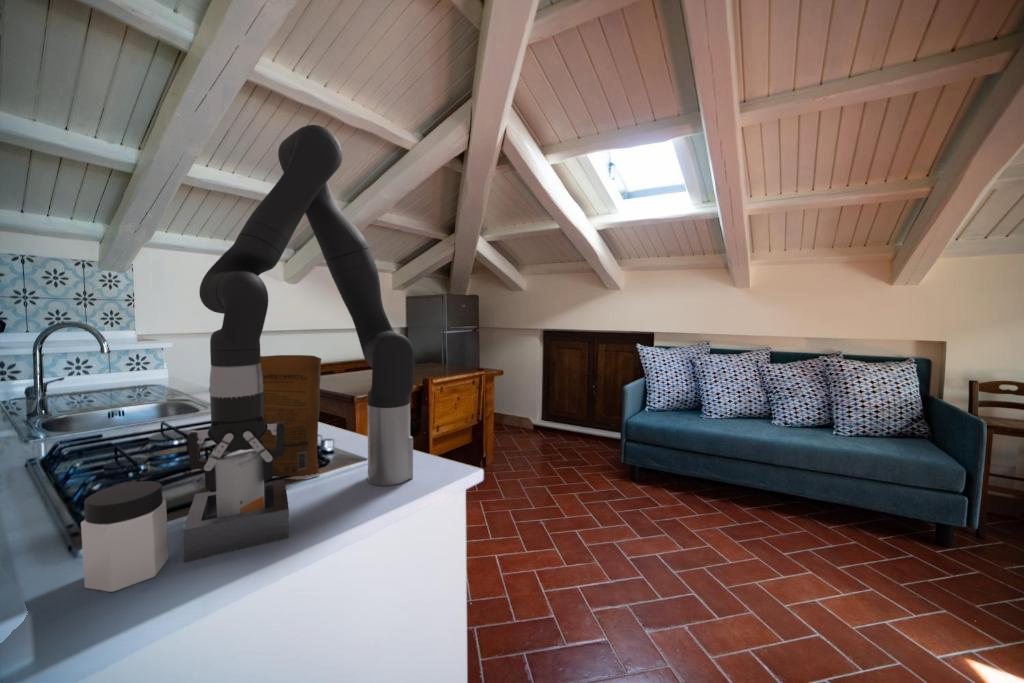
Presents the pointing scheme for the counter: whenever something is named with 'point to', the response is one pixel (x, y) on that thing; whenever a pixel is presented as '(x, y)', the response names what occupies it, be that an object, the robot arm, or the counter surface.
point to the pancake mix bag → (292, 410)
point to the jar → (124, 535)
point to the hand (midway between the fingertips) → (240, 485)
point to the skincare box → (239, 483)
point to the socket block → (235, 524)
